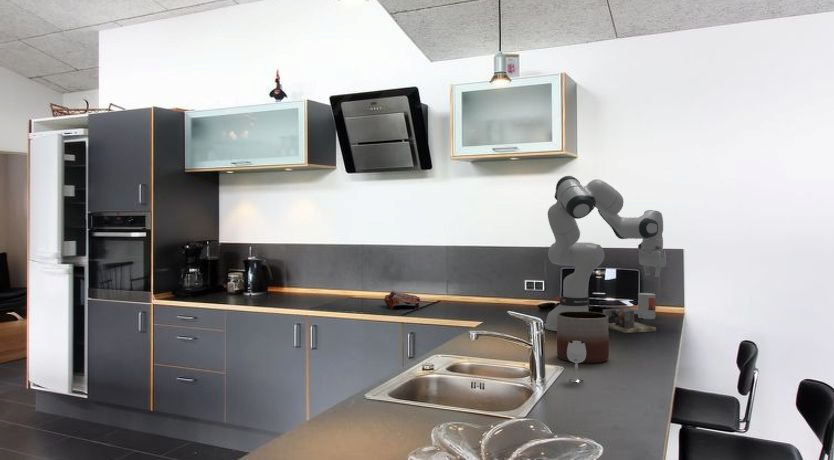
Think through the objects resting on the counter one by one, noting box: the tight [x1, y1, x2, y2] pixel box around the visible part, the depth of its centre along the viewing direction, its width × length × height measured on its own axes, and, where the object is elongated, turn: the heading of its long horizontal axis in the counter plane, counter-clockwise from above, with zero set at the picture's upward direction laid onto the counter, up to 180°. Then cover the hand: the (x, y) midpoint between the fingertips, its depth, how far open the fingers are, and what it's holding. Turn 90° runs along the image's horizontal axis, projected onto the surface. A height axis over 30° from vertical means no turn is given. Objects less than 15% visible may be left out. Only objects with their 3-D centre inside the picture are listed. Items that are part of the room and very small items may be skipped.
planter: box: [556, 311, 610, 364], centre depth 216 cm, size 18×18×16 cm
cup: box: [637, 292, 657, 320], centre depth 305 cm, size 8×8×12 cm
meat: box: [383, 290, 421, 310], centre depth 343 cm, size 21×21×10 cm
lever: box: [602, 298, 656, 318], centre depth 277 cm, size 24×4×8 cm, turn 95°
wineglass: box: [567, 341, 586, 384], centre depth 186 cm, size 6×6×12 cm
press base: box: [608, 309, 657, 334], centre depth 274 cm, size 16×15×9 cm
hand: (652, 276), depth 277 cm, fingers open, 8 cm apart
